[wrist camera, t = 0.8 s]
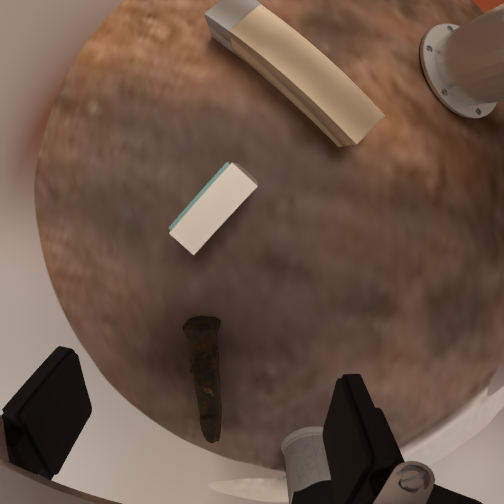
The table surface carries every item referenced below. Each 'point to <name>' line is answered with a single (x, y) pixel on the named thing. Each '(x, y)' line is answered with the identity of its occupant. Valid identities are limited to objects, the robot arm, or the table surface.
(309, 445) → the glass holder
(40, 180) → the table surface
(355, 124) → the grey-capped beige stick
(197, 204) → the white and teal block
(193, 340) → the hand tool
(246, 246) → the table surface
